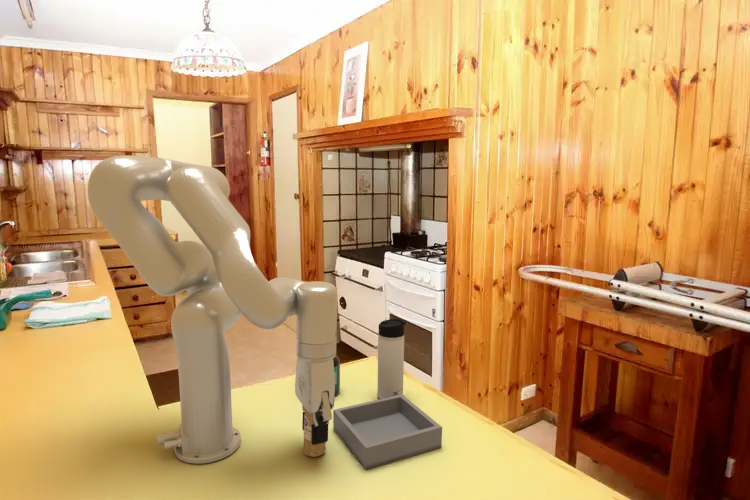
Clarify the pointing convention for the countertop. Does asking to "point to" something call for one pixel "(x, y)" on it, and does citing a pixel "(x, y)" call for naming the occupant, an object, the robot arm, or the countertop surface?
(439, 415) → the countertop surface
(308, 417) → the sprinkles bottle
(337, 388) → the supplement bottle
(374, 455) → the tray
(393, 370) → the travel mug
